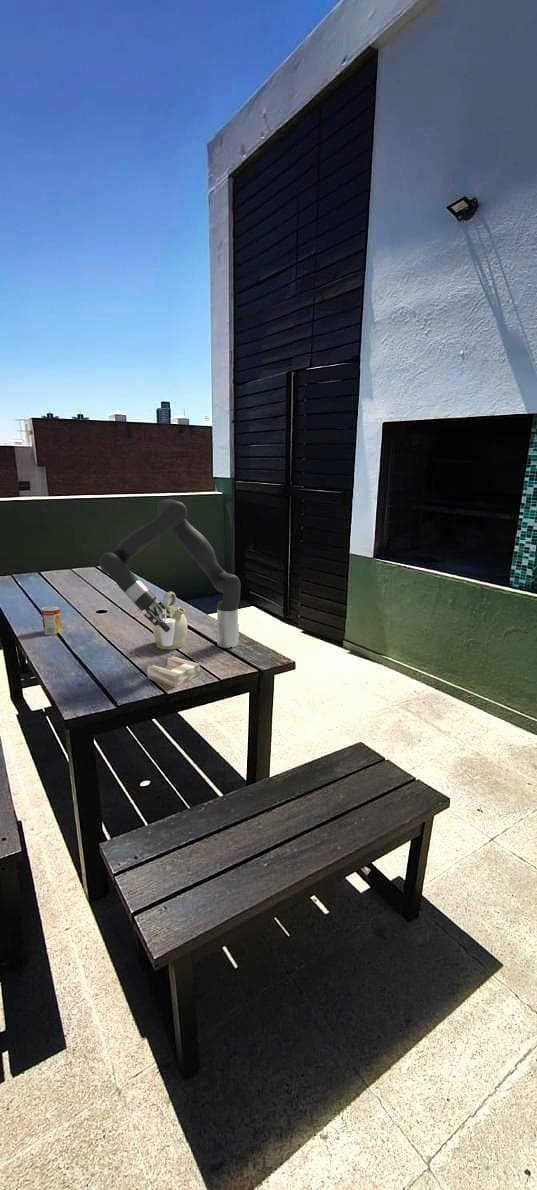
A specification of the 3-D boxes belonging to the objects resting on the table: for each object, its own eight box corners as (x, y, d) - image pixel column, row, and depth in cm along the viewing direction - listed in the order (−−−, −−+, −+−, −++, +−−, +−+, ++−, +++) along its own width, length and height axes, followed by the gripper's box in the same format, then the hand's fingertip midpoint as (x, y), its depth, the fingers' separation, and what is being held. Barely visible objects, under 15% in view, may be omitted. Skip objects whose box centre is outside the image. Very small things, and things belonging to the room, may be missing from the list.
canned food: (62, 629, 238) (60, 605, 235) (61, 634, 231) (59, 610, 228) (44, 630, 236) (42, 606, 233) (43, 635, 229) (40, 611, 226)
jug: (194, 645, 222) (193, 591, 215) (166, 653, 211) (164, 598, 204) (174, 636, 232) (173, 585, 225) (146, 644, 221) (144, 591, 214)
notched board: (172, 666, 197) (172, 656, 196) (199, 674, 190) (199, 664, 189) (147, 678, 186) (147, 667, 185) (175, 687, 179) (175, 676, 178)
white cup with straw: (160, 641, 189) (159, 606, 185) (176, 641, 189) (176, 607, 186) (157, 647, 183) (157, 611, 179) (175, 647, 183) (174, 611, 180)
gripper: (140, 593, 175) (172, 627, 176) (154, 584, 188) (183, 616, 190) (126, 607, 177) (158, 640, 178) (141, 597, 190) (170, 628, 192)
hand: (171, 627), depth 184 cm, fingers closed on white cup with straw, 6 cm apart
